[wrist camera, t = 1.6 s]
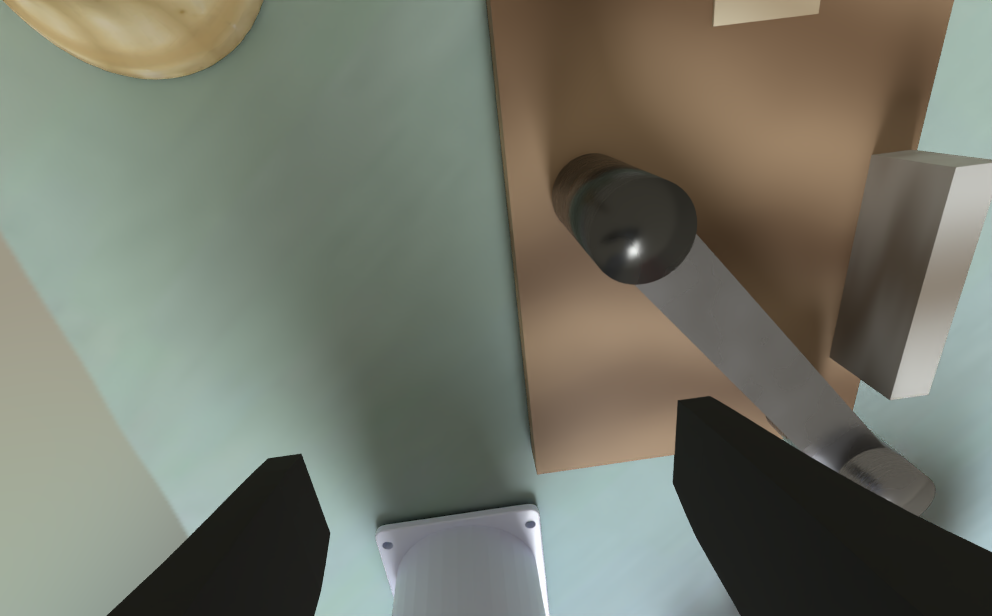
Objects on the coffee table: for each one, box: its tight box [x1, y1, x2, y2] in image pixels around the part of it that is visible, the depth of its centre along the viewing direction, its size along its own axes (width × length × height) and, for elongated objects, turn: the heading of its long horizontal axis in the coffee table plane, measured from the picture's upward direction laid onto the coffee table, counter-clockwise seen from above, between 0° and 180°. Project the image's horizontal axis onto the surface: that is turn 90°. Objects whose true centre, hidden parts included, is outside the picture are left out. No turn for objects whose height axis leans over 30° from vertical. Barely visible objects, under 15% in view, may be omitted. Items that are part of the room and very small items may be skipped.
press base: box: [486, 0, 992, 475], centre depth 17 cm, size 18×14×4 cm
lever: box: [552, 153, 935, 517], centre depth 16 cm, size 16×3×5 cm, turn 46°
